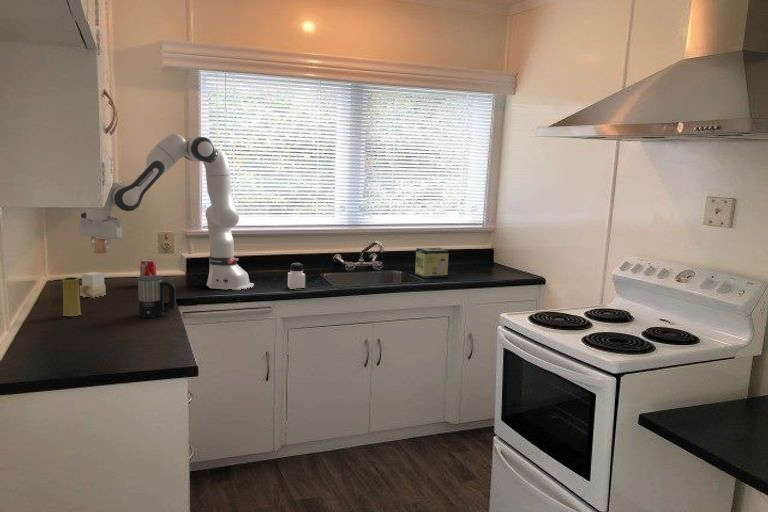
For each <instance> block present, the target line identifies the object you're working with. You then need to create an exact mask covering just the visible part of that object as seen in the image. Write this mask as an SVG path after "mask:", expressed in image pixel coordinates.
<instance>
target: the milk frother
mask: <svg viewBox="0 0 768 512" xmlns="http://www.w3.org/2000/svg"><path fill="white" fill-rule="evenodd" d="M136 280H137V288H138V289H137V290H138V315H139V316H138V317H140V316H142V317H141V318H144V317H151V318H156V317H155V316H158V317H161V316H160V315H162V316H163V315H165V313H164V311H165V310H166V309H167V310H168V308H169V309H170V310H173V309H175V307H176V294H177V293H176V291H177V289H176V284H174V282H172V281H170V280H163V276H162V275H156V276H155V275H152V276H141V277H140V276H139V277H137V278H136ZM164 287H166V288H168V291H169V293H168V294H169V297H168V301H165V300H164Z"/></svg>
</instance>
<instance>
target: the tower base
mask: <svg viewBox="0 0 768 512" xmlns="http://www.w3.org/2000/svg"><path fill="white" fill-rule="evenodd" d="M106 288H107V287H106V284H105V283H104V285H100V286H96V287H89V286H82V284H81V285H79V296H83V297H82V298H85V297H91V298H90V299H92V298H94V299H96V298H95V297H98V298H100V297H99V296H102V297H105V296H104V295H106V296H107V290H106Z"/></svg>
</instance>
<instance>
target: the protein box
mask: <svg viewBox="0 0 768 512" xmlns="http://www.w3.org/2000/svg"><path fill="white" fill-rule="evenodd" d="M449 253H450V251H449V250H448V249H445V248H442V247H424V248H423V247H422V248H420V247H418V248H417V247H416V251H415V267H414V268H415V270H414V272H415V273H414V275H415V276H416V275H418V276H421V277H430V276H444V275H447V276H448V272H449V271H448V269H449ZM418 276H417V277H418ZM421 277H420V278H421Z"/></svg>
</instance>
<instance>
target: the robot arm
mask: <svg viewBox="0 0 768 512" xmlns="http://www.w3.org/2000/svg"><path fill="white" fill-rule="evenodd" d="M182 158H185V159H187V160H189V161H191V162H198V163H199V162H201V163H203V166H204V168H205V178H206V188H207V191H206V192H207V194H208V196H209V200H210V204H211V205H209V206H208V207H207V208H206V210H205V219H206V224H207V225H206V226H207V230H208V235H209V237H208V238H209V256H208V263H209V271H208V272H209V273H208V278H207V282H206V286H207V287H208V289H213V290H214V289H215V290H216V289H217V290H218V289H219V290H228V289H232V291H242V290H241V289H244V290H248V289H250V287H251V288H254V286H255V284H254V283H253V282H250V278H249V274H248V272H247V271H246V270H244V269H243V268H242V267H241V266H240V265H239V264H238V262H237V261H239V258H238V257H237V258H236V257H235V255H234V253H235V252H234V251H235V247H234V245H235V243H234V241H235V240H234V237H233V234H232V233H233V232H232V228H234V227H235V226H237V224H238V223H239V219H240V216H239V213H238V211H237V208H236V203H235V199H234V195H233V189H232V181H231V180H232V178H231V171H230V164H229V161H228V156H227V155H226V153H224V152H223V151H220V150H218V149H217V147H216V146H215V143H214V142H213V141H212V140H211V139H210V138H208V137H206V136H194V137H188V138H184V137H183V136H182V135H180V134H178V133H171V134H168V136H166V137H165V138H163V139H162V140H161V141H159V142H158V143H157V144H156V145H155V146H154V147H153V148H152V149H151V150H150V151H149V153H148V154H147V156H146V159H145V163H146V165H145V168H144V169H143V171H142V172H141V173H140V175H138V177H136V179H135V180H134V181H133V182H132V183H130V184H129V185H127V186H126V185H124V184H121V183H119V182H117V181H115V182H114V183H113V184H112V187H111V189H110V192H109V195H108V198H107V201H106V203H105V206H104V208H101V209H89V208H88V210H86V211H85V212H80V213H79V214H78V216H79V218H80V219H79V222H78V233H79V234H80V235H81V236H85V237H89V241H90V242H91V247H92V248H94V238H106V244H104V248H105V249H107V250H109V249H110V245H111V243H112V241H113V240H121V239H122V237H123V230H122V221H121V219H120V218H119V217H117V216H113V207H117V208H118V209H120V210H121V211H125V212H132V211H134V210H136V209H137V208H139V207H140V205H141V203H142V200H143V197H144V195H146V193H147V192H148V191H149V189H151V187H152V186H153V185H154V184H155V183H156V182H157V180H158V179H160V177H162V176H163V175H164V174H166V173H167V172H168V171H169V170H171V169H172V167H173V168H174V166H175V165H176V164H177V163H178V162H179V160H180V159H182ZM247 288H248V289H247Z"/></svg>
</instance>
